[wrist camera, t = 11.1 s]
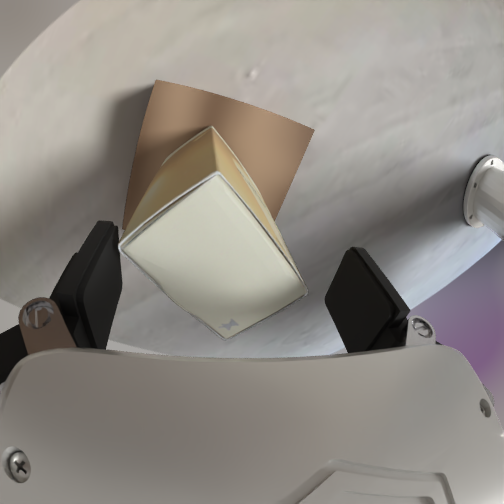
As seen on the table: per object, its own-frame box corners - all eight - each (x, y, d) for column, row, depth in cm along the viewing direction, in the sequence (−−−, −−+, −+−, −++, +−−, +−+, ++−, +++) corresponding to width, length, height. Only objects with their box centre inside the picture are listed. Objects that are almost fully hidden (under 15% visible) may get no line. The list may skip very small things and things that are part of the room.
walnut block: (294, 121, 23) (314, 129, 18) (249, 230, 28) (257, 258, 24) (165, 81, 19) (155, 79, 15) (134, 204, 24) (122, 229, 20)
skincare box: (258, 187, 21) (317, 298, 11) (212, 218, 21) (228, 347, 11) (209, 119, 17) (220, 165, 7) (160, 156, 18) (111, 252, 8)
